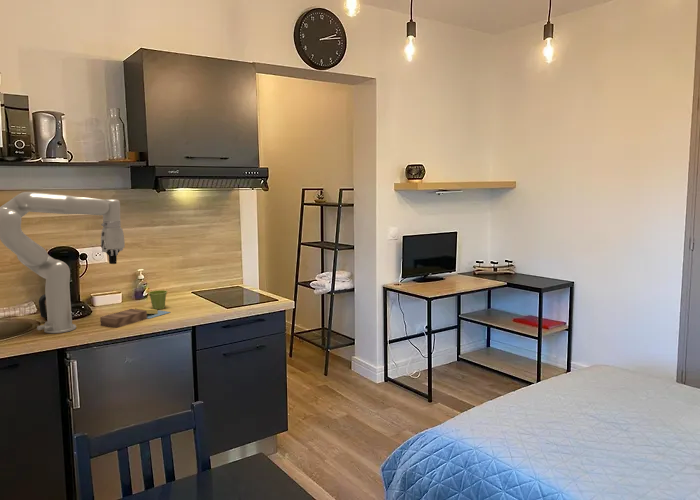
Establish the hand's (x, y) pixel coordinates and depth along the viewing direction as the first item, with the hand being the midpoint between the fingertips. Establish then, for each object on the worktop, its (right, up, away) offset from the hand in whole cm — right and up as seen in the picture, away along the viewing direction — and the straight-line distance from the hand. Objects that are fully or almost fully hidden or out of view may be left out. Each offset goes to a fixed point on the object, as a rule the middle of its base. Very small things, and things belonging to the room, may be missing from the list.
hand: (112, 263), depth 252 cm
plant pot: (+12, -24, +26) cm, 38 cm away
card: (+12, -25, +10) cm, 29 cm away
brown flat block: (+6, -28, -2) cm, 28 cm away
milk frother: (-24, -28, 0) cm, 37 cm away
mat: (+14, -26, +13) cm, 32 cm away
